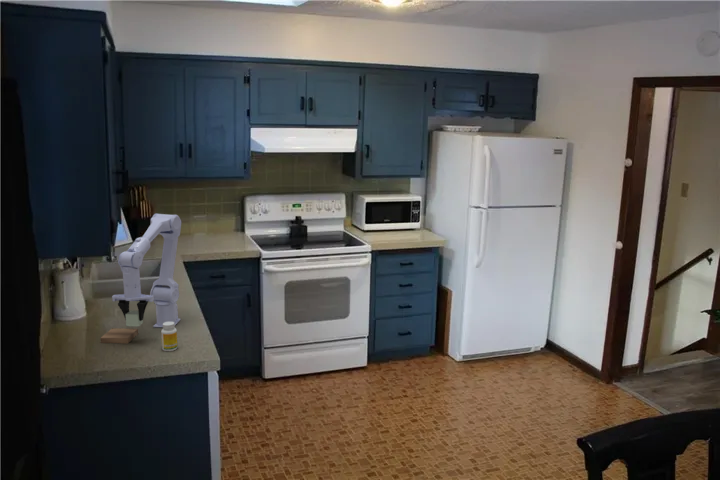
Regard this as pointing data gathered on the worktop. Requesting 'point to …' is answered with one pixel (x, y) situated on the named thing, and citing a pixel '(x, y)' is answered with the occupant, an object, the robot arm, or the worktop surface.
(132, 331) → the brown square pad
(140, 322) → the sage block
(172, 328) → the supplement bottle
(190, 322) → the worktop surface
